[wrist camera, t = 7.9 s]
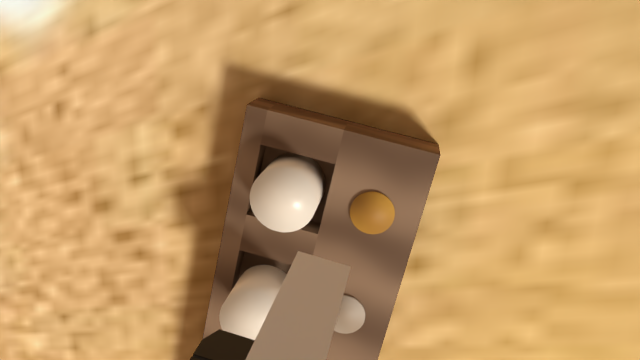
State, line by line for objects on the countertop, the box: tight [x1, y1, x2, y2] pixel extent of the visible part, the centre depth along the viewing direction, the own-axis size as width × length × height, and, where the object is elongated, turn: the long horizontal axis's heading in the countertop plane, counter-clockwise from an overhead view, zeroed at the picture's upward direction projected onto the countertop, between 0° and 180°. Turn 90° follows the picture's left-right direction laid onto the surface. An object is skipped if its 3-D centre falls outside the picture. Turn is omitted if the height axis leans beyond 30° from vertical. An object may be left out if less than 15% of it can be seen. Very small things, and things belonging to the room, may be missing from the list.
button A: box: [250, 153, 325, 232], centre depth 40 cm, size 4×4×4 cm
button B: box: [219, 265, 287, 340], centre depth 40 cm, size 4×4×4 cm
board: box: [203, 98, 440, 360], centre depth 43 cm, size 26×13×3 cm, turn 167°
